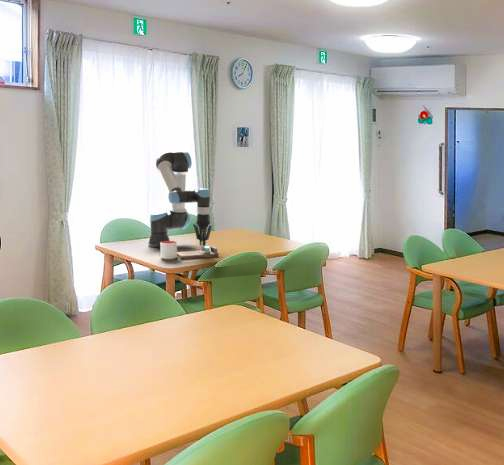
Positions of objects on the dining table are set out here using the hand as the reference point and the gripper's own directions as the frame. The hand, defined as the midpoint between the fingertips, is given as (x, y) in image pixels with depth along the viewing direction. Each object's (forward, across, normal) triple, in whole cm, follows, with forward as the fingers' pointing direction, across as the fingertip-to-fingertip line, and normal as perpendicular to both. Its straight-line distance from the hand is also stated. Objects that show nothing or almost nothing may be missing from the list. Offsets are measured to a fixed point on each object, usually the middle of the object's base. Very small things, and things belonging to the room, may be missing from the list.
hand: (202, 250), depth 391 cm
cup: (+4, -16, -14) cm, 22 cm away
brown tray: (+3, -3, -1) cm, 5 cm away
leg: (+1, +1, +3) cm, 4 cm away
